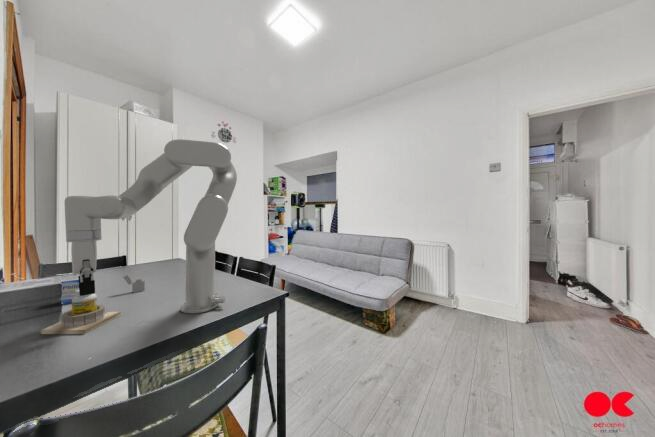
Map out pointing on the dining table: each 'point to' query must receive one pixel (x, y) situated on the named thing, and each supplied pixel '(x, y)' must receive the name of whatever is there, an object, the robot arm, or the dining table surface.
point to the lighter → (136, 284)
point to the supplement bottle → (83, 304)
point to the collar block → (81, 322)
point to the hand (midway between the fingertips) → (86, 290)
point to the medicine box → (69, 289)
